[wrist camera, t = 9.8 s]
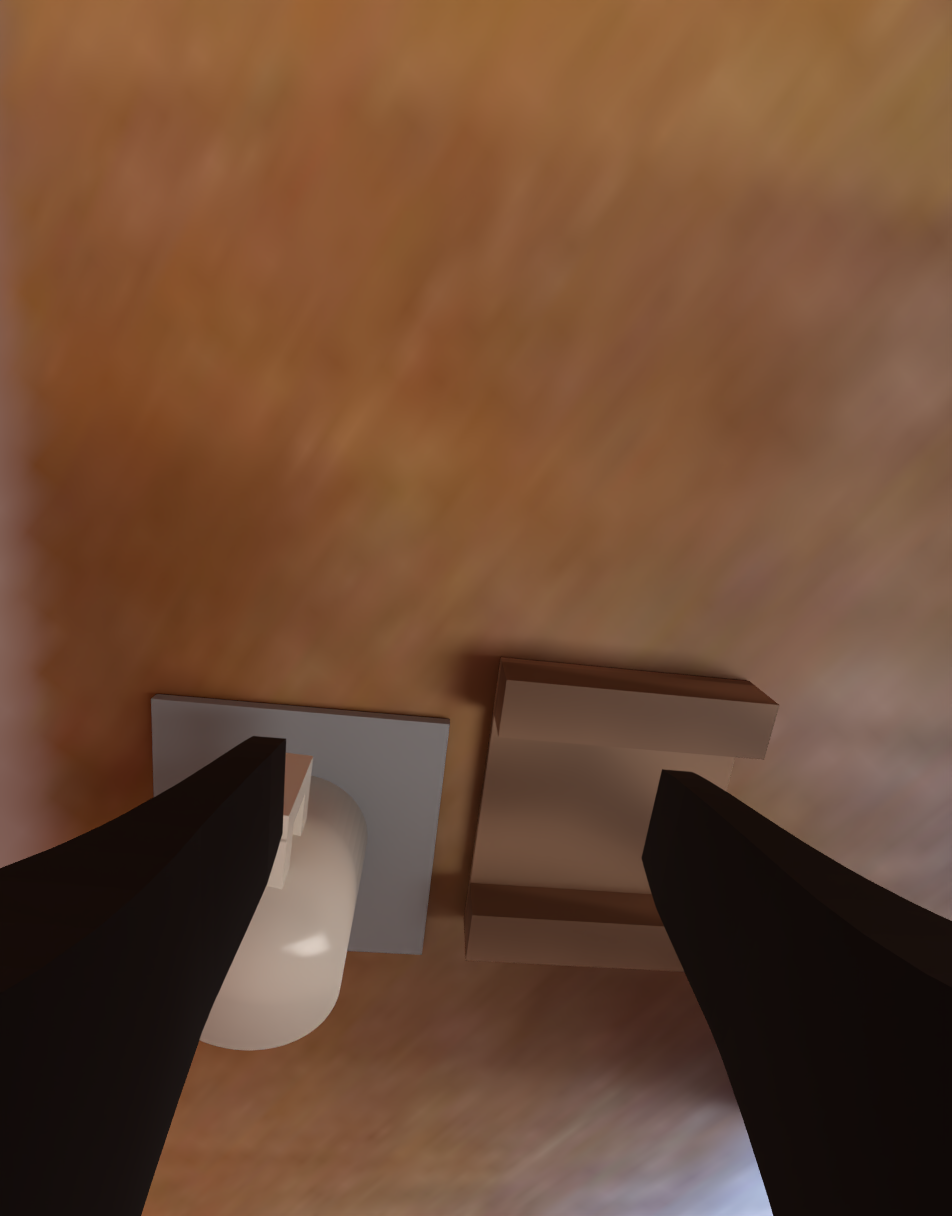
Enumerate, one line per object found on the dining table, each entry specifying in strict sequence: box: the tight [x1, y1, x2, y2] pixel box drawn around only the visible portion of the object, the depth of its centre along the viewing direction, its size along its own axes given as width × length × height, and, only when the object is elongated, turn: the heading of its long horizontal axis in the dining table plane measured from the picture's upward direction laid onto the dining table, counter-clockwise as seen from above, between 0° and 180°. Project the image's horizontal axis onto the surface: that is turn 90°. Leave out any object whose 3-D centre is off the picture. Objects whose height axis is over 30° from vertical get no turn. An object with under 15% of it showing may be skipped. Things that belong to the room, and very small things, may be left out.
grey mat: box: [151, 694, 450, 955], centre depth 22 cm, size 10×10×1 cm
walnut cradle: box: [464, 657, 779, 972], centre depth 22 cm, size 11×9×2 cm
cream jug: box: [200, 753, 368, 1050], centre depth 18 cm, size 7×5×6 cm
